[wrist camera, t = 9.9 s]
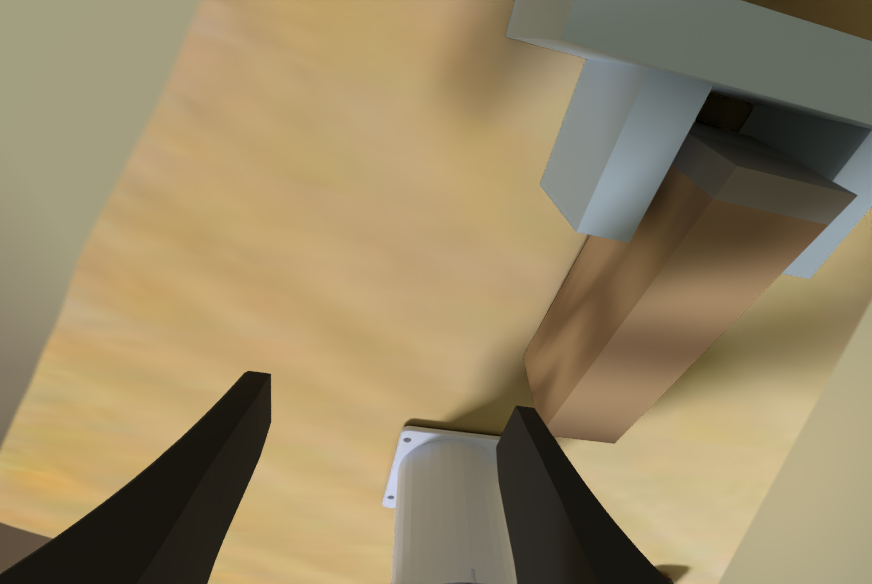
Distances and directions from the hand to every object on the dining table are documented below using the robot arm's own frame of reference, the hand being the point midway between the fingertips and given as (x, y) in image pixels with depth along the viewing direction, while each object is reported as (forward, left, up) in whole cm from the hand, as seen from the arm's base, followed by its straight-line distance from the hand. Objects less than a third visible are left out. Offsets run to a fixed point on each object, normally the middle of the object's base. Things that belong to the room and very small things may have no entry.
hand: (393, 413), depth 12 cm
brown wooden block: (+2, -10, -9) cm, 13 cm away
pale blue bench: (+8, -10, -9) cm, 16 cm away
